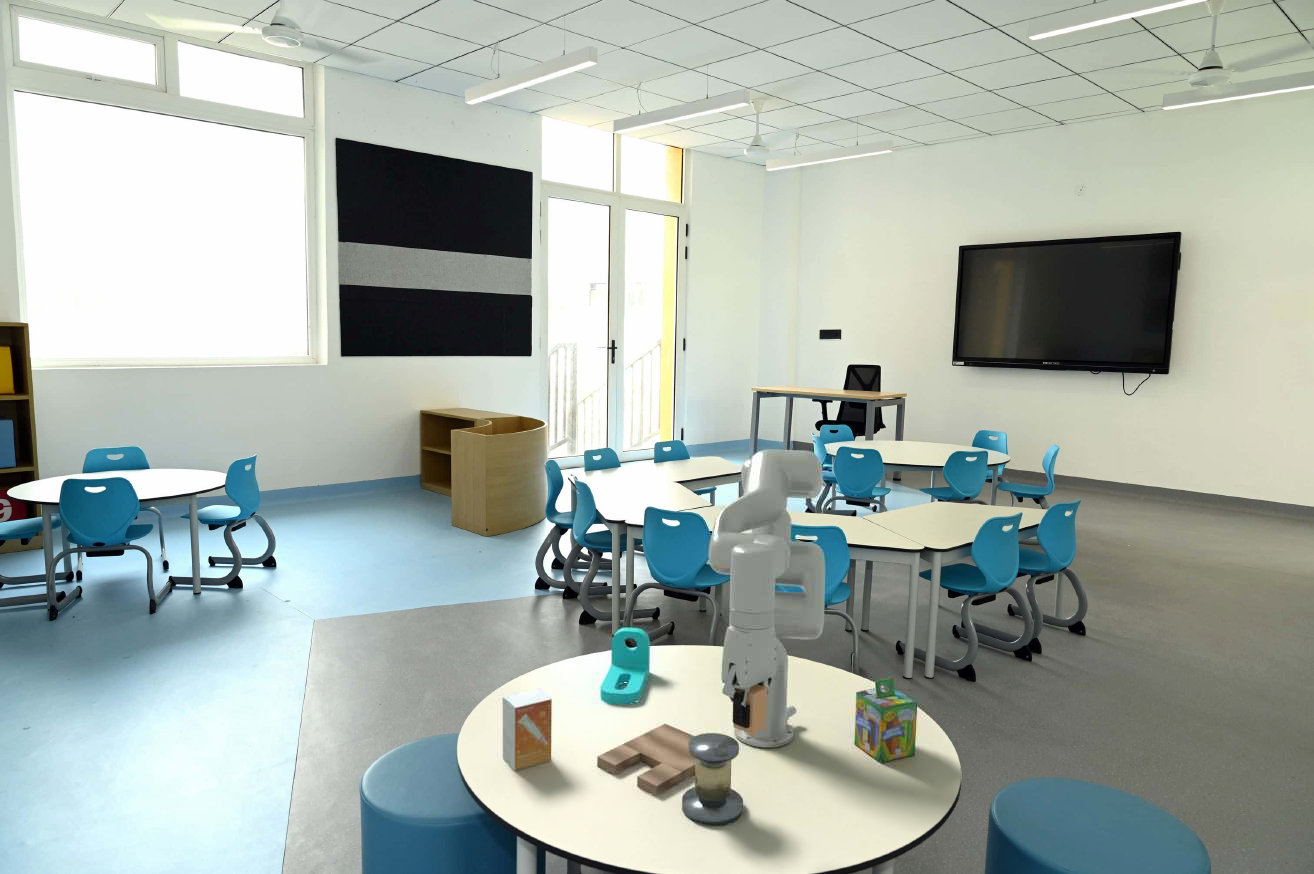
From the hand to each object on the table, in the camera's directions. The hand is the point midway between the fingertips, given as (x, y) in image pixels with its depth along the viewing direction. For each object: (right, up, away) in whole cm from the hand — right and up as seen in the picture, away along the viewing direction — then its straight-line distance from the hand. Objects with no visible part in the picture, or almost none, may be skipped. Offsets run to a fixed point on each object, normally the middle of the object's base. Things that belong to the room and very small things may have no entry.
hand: (749, 719), depth 139 cm
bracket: (-24, -13, +60) cm, 66 cm away
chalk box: (+31, -17, +30) cm, 47 cm away
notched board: (-15, -17, +24) cm, 33 cm away
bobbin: (-6, -18, +7) cm, 21 cm away
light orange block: (0, -1, 0) cm, 1 cm away
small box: (-42, -17, +24) cm, 51 cm away
